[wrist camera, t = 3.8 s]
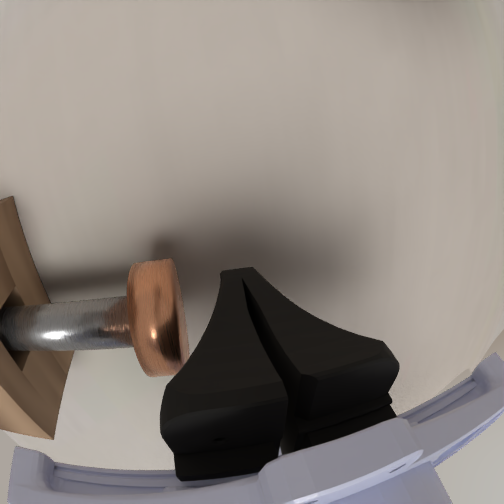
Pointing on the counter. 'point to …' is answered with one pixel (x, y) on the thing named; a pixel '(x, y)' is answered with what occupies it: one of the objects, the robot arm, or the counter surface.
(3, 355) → the bearing block
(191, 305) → the counter surface
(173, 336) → the copper capped shaft
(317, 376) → the robot arm
